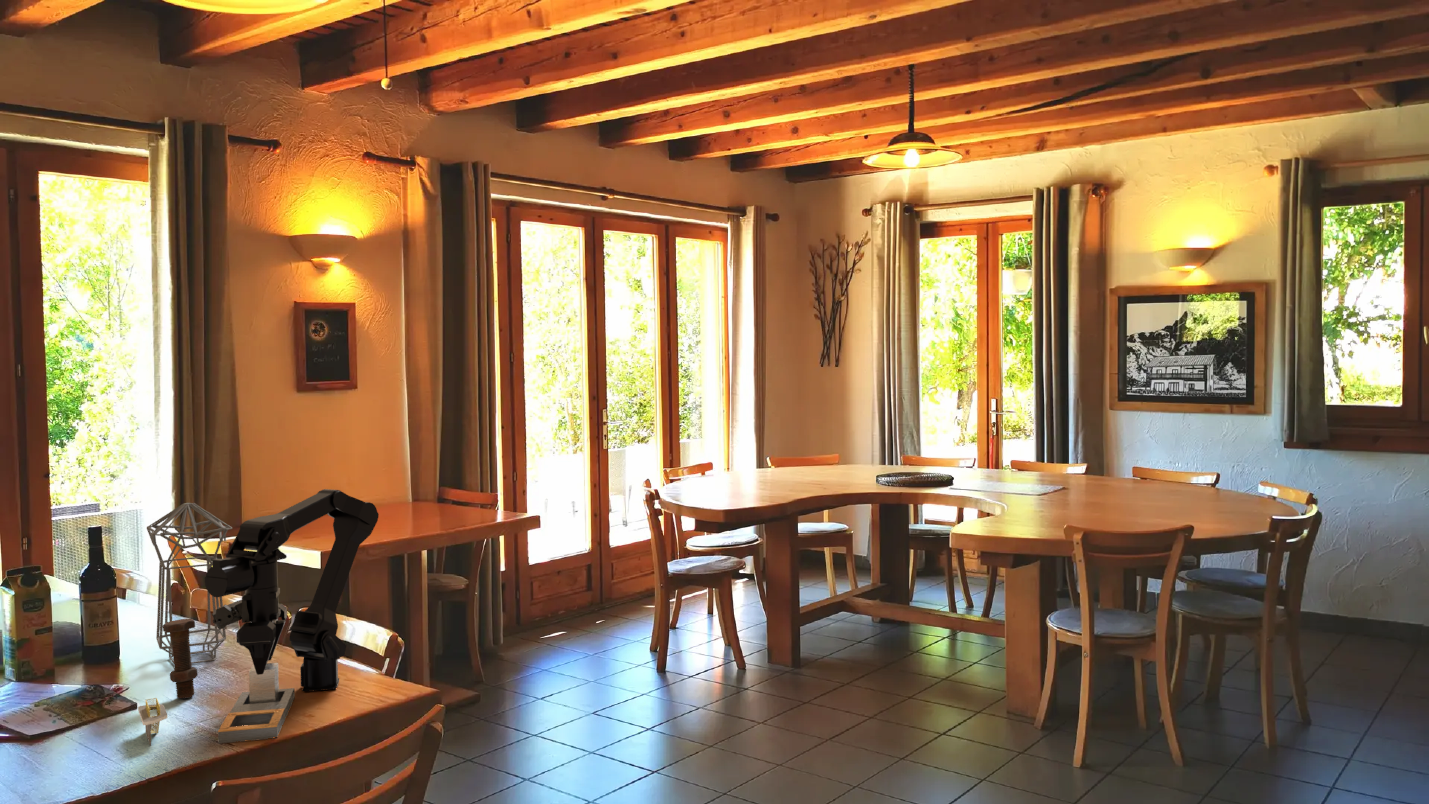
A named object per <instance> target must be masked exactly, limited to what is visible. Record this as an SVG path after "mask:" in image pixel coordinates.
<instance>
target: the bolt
mask: <svg viewBox="0 0 1429 804" xmlns="http://www.w3.org/2000/svg"><path fill="white" fill-rule="evenodd" d="M194 628H196V621H195V620H194V619H193V618H181V619H175V620H172V621H168V622H167V623H165V622H164V623H163V632H164V633H165V632H167V634H170V636H169V638H170V639H171V643H172V648H173V649H172V650H173V651H172V652H173V655H174V656H173V657H172V659H173V660H174V661H173V662H174V664H173V670H172V671H170V672H169V679H170V681H171V682H172V683H174V684H175V689H176V690H175V691H176V698H178V699H188V698H189V699H190V698H192V697H193V696H195V686H194V685H195V684H194V679H195V678H197V677H198V669H197V667H196V666H193V664H191V663H192V655H191V654H190V653H191V652H192V651H191V649H192V648H191V646H190V644H191V643H190V634H191V633H190V634H189V631H190V629H194ZM172 652H171V653H172ZM173 662H172V663H173Z"/></svg>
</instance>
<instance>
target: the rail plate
mask: <svg viewBox="0 0 1429 804" xmlns="http://www.w3.org/2000/svg"><path fill="white" fill-rule="evenodd" d="M295 697H296V695H295V687H291V688H290V687H289V688H281V689H280V688H279V702H269V703H257V704H250V700H249V691H242V692H241V693H240V695H239V696H238V699H237V700H236V701H235V703H234V705H233V707H232V709H230V712H228V713H227V715H226V717H225V718H224V720H223V722H222V723H221V725H220V727H219V728H218V730H217V743H218V744H226V743H237V742H238V741H240V742H246V741H245V740H251V741H259V740H269V739H268V738H272V739H274V738H273V737H277V736H278V737H279V735H280V733H279V732H281V730H282V728H283V726H284V723H285V722H286V721H285V720H286V719H285V718H287V717H286V716H288V714H289V712H290V710H289V709H291V708H290V707H292V705H293V703H294V701H295ZM293 700H294V701H293ZM292 702H293V703H292ZM288 711H289V712H288ZM242 725H243V726H242ZM244 725H248V726H244ZM282 725H283V726H282ZM236 726H237V727H236ZM278 734H279V735H278ZM278 737H277V738H278ZM236 741H237V742H236Z"/></svg>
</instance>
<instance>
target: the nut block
mask: <svg viewBox="0 0 1429 804" xmlns="http://www.w3.org/2000/svg"><path fill="white" fill-rule="evenodd" d="M279 679H280V678H279V663H278V662H270V663H268V662H267V665H266V667H265V670H264V673H263V674H260V675H257V673H256V670H255V667H254V664H252V665H251V667H250V669H249V670H248V688H249V690H248V692H249V700H250V704H257V703H269V702H279V689H280V686H279V685H280V683H279Z"/></svg>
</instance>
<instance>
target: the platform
mask: <svg viewBox="0 0 1429 804" xmlns="http://www.w3.org/2000/svg"><path fill="white" fill-rule="evenodd" d="M149 701H151V703H150V704H149ZM137 710H138V711H137V712H138V714H139V716H140V720H141V722H142V725H143V726H145V727H144V728H145V735H146V737H147V740H148V744H149V747H151V746H152V734H155V735H158V733H159V731H160V729H159V728H160V722H161V721H163V720H166V719H168V711H167V710H166V707H165V706H164V704H161V703H159V700H158V698H157V697H154V698H147V699H145V704H144V705H139V706H138V707H137ZM151 711H156V715H153V716H152V715H151Z"/></svg>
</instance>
